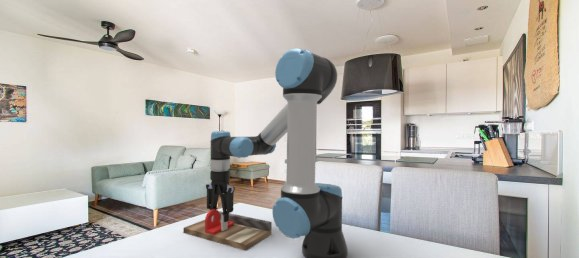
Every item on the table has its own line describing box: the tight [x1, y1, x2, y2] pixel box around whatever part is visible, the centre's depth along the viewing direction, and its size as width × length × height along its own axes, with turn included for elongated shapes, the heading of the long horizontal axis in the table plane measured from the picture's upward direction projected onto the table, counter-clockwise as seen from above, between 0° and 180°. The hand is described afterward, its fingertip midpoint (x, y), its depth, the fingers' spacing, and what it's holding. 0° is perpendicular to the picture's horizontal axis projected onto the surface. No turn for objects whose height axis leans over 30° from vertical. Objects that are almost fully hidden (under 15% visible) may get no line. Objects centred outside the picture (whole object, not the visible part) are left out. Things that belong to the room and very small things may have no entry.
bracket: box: [204, 209, 234, 235], centre depth 104 cm, size 12×4×8 cm, turn 151°
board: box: [183, 210, 273, 251], centre depth 104 cm, size 32×16×5 cm, turn 61°
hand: (219, 228), depth 103 cm, fingers closed on bracket, 4 cm apart
